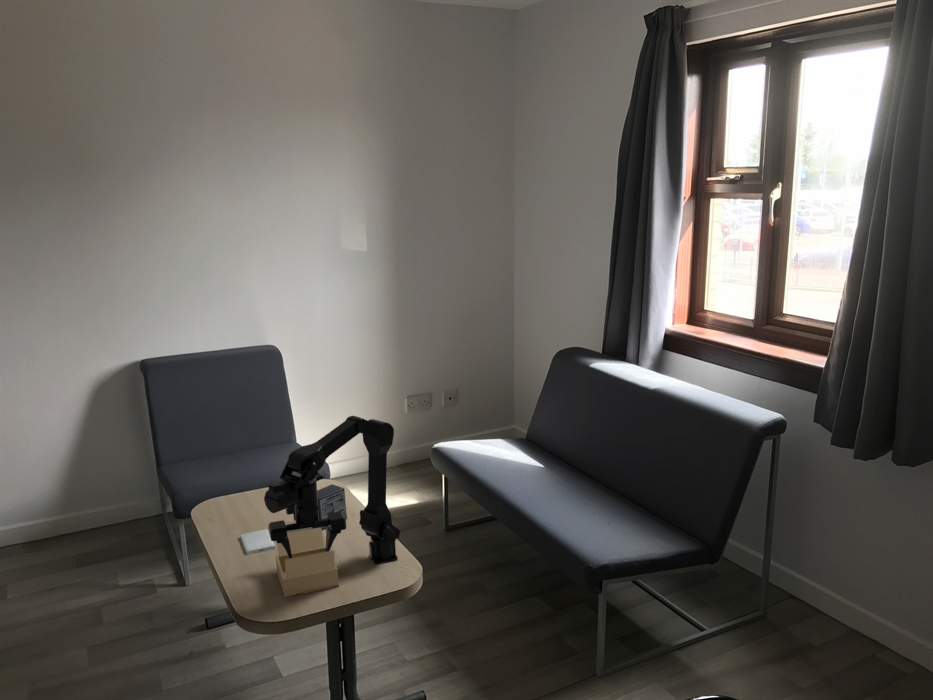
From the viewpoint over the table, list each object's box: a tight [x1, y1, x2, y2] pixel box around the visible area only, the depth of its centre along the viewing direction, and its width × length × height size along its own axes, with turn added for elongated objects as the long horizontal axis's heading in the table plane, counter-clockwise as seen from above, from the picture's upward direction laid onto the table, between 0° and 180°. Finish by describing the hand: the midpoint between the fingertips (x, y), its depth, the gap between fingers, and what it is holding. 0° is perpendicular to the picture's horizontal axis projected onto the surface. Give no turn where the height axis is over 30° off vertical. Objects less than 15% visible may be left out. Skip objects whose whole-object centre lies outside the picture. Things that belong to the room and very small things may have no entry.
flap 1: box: [276, 527, 325, 556], centre depth 215 cm, size 12×6×1 cm
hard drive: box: [240, 528, 277, 555], centre depth 230 cm, size 2×8×12 cm
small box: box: [317, 484, 348, 531], centre depth 242 cm, size 11×6×10 cm, turn 141°
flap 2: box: [285, 549, 336, 580], centre depth 199 cm, size 12×6×1 cm
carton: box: [275, 546, 340, 598], centre depth 207 cm, size 14×14×5 cm
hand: (309, 556), depth 199 cm, fingers open, 9 cm apart
